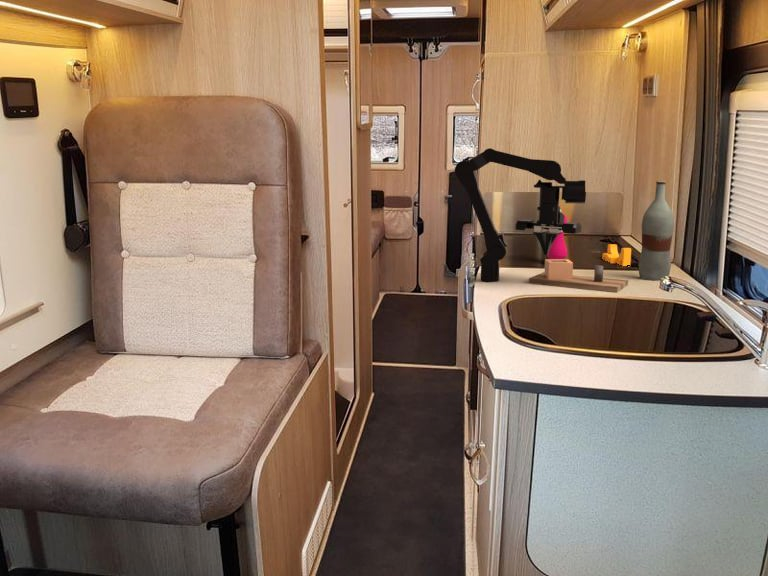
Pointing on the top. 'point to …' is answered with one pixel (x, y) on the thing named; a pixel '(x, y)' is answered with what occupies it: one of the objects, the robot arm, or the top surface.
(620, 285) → the collar board
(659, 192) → the bottle
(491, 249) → the robot arm
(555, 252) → the pepper mill
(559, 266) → the collar
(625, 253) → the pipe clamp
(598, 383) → the top surface
